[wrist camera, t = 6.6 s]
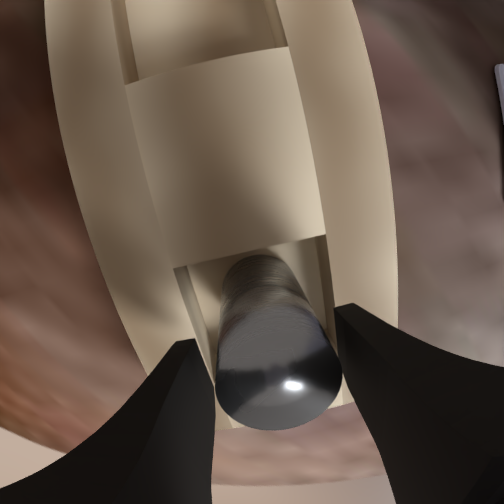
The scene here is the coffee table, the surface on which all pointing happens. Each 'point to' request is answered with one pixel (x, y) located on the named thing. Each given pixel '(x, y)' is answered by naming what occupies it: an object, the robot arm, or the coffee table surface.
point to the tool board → (224, 158)
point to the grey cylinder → (272, 349)
